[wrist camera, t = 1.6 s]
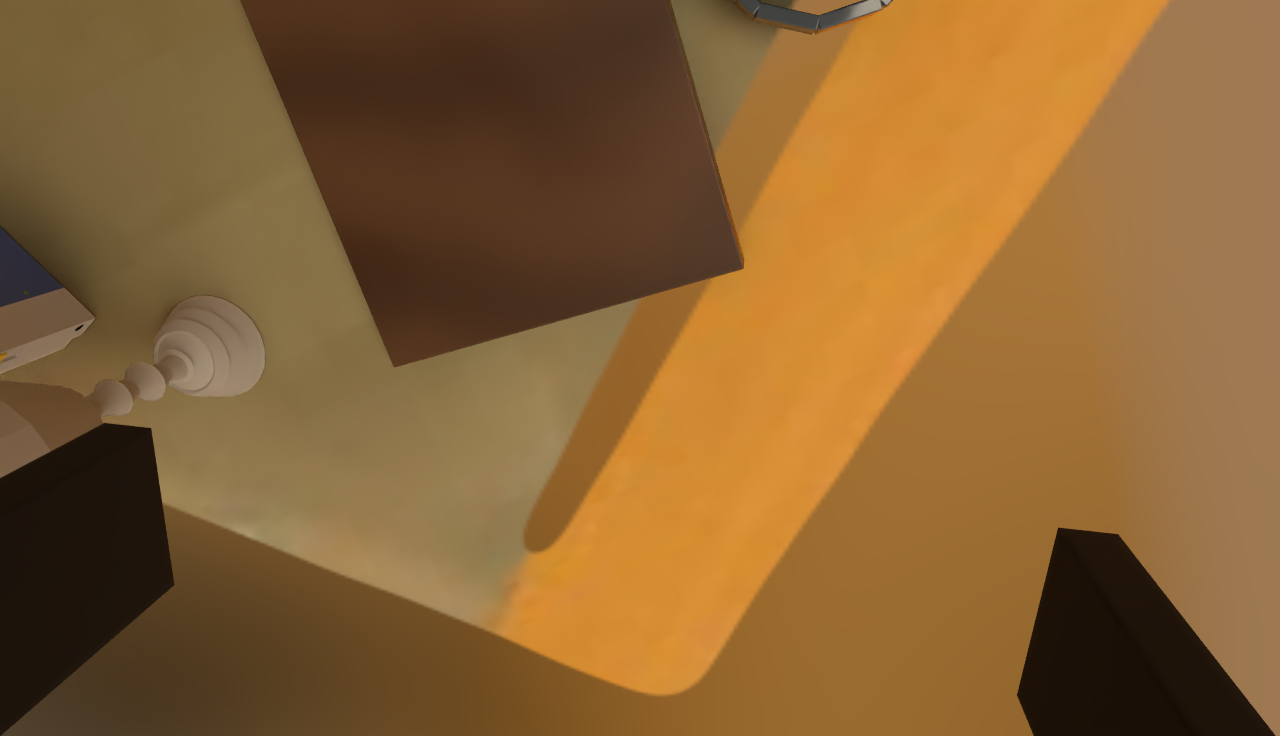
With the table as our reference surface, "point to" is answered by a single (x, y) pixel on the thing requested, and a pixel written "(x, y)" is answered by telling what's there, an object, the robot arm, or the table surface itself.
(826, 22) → the slate ring
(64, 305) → the walkman
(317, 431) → the table surface
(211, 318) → the chalice
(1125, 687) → the robot arm
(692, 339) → the table surface
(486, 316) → the walnut board
